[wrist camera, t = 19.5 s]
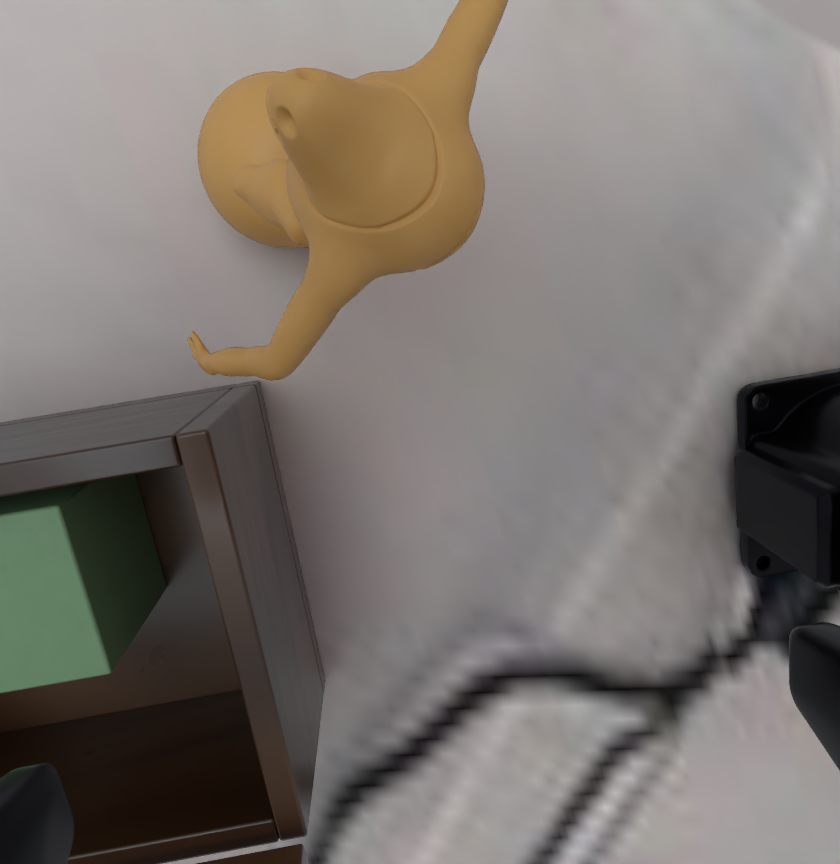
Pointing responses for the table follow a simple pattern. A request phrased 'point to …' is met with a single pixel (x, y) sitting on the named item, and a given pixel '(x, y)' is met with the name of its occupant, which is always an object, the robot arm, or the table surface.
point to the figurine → (347, 177)
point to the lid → (268, 857)
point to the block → (73, 580)
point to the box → (181, 638)
